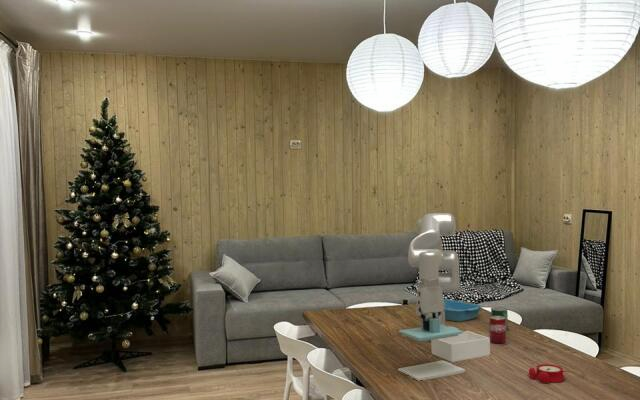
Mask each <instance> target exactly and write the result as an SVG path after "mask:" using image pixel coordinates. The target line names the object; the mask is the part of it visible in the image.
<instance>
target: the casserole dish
mask: <svg viewBox="0 0 640 400" xmlns="http://www.w3.org/2000/svg"><path fill="white" fill-rule="evenodd" d="M443 299H444V302H445V321H449V322H460V323H461V322H464V321H465V322H466V321H469V320H473V319H476V318H477V317H478V315H479V313H480V311H481V305H479V304H478V303H471V302H465V301H460V300H455V299H448V298H443Z"/></svg>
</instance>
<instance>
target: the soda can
mask: <svg viewBox="0 0 640 400" xmlns="http://www.w3.org/2000/svg"><path fill="white" fill-rule="evenodd" d="M489 338H490V345H491V344H492V345H497V346H504V345H506V344H507V342H508V341H507V340H508V339H507V338H508V337H507V332H506V318H505V317H502V316H492V317H491V316H490V317H489Z"/></svg>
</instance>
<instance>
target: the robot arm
mask: <svg viewBox="0 0 640 400" xmlns="http://www.w3.org/2000/svg"><path fill="white" fill-rule="evenodd" d="M416 227H417V230H418V232H419V234H418V235H417V236H416V237H414V238H413V239H412V240H411V241H410V243H409V245H408V252H407V254H408V255H407V261H408V262H407V263H408V264H409V266H410V267H412V268H418V271H419V273H418V274H419V278H418V279H419V280H418V281H417V282H416V283H417V285H419V286H418V287H417V294H416V310H415V315H416V316H419V317H420V319H422V320H423V329H424V330H427V331H429V321H428V316H429V317H433V318H436V319H439V320H440V324H441V325H444V326H446V320H445V302H444V299H445V298H444V295H443V293H444V294H445V293H450V294H452V293H453V294H454V293H457V292H459V290H460V285H461V284H460V283H461V281H460V258H459V255H458V253H457V251H455V250H450V249H449V250H445V249H443V240H442V237H449V236H451V237H452V236H454V235H455V233H456V229H457V228H456V227H457V226H456V218H455V217H454V215H453V214H452V213H449V212H432V213H426V214H424V215H423V216H422V218H419V219H418V220H417V221H416ZM442 271H447V272H442ZM428 341H429V342H431V340H428Z"/></svg>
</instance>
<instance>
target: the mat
mask: <svg viewBox="0 0 640 400" xmlns="http://www.w3.org/2000/svg"><path fill="white" fill-rule="evenodd" d="M398 370H399V371H401V372H403V373H405V374H407V375H409V376H411V377H412V378H411V377H410V378H411V379H413V378H414V379H416V380H418V381H417V382H421V381H420V380H423V381H427V379H428V380H431V379H437V378H442V377H448V376H453V375H457V374H463V373H466V369H465V368H462V367H460V366H458V365H455V364H453V363H452V362H450V361H447V360H445V359H444V360H443V359H442V360H437V361H432V362H428V363H421V364H416V365H410V366H405V367H400V368H397V371H398ZM399 371H398V372H399ZM401 372H400V373H401ZM403 373H402V374H403ZM405 374H404V375H405ZM407 375H406V376H407ZM409 376H408V377H409ZM414 379H413V380H414ZM416 380H415V381H416Z"/></svg>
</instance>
